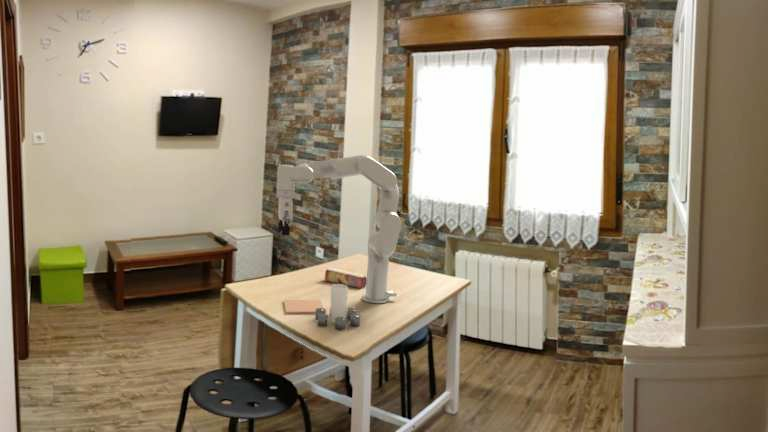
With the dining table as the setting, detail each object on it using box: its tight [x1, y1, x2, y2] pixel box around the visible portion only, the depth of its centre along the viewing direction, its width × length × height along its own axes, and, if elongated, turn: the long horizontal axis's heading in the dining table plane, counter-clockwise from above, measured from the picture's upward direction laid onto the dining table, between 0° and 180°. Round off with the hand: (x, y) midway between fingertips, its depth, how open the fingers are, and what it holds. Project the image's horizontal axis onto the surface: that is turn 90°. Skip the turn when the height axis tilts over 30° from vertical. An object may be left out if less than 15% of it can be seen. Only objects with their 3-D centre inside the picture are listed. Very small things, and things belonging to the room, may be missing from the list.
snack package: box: [324, 267, 367, 289], centre depth 299 cm, size 21×7×7 cm, turn 65°
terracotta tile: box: [283, 299, 324, 315], centre depth 258 cm, size 16×16×1 cm
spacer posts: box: [314, 306, 361, 331], centre depth 243 cm, size 17×19×4 cm
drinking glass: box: [330, 283, 349, 324], centre depth 242 cm, size 7×7×15 cm
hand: (283, 232), depth 261 cm, fingers open, 9 cm apart
